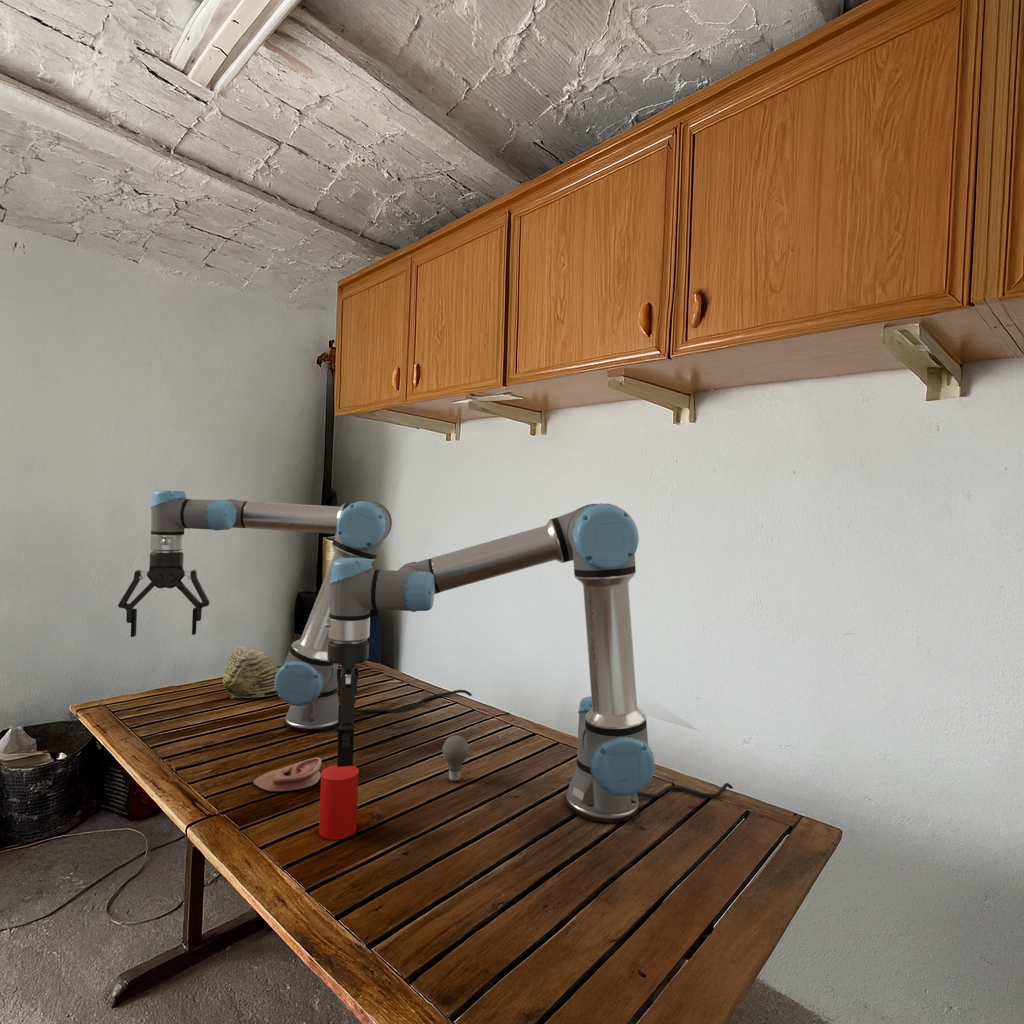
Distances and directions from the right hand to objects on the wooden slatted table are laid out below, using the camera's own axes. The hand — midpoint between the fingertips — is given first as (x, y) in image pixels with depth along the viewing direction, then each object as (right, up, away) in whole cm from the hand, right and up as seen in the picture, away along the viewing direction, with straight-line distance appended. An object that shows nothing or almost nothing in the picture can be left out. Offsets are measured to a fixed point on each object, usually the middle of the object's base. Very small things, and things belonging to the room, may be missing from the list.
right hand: (344, 751), depth 120 cm
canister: (-1, -15, +1) cm, 15 cm away
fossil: (-49, -12, +78) cm, 93 cm away
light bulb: (+19, -16, +24) cm, 34 cm away
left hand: (-56, +14, +40) cm, 71 cm away
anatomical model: (-18, -14, +20) cm, 30 cm away
